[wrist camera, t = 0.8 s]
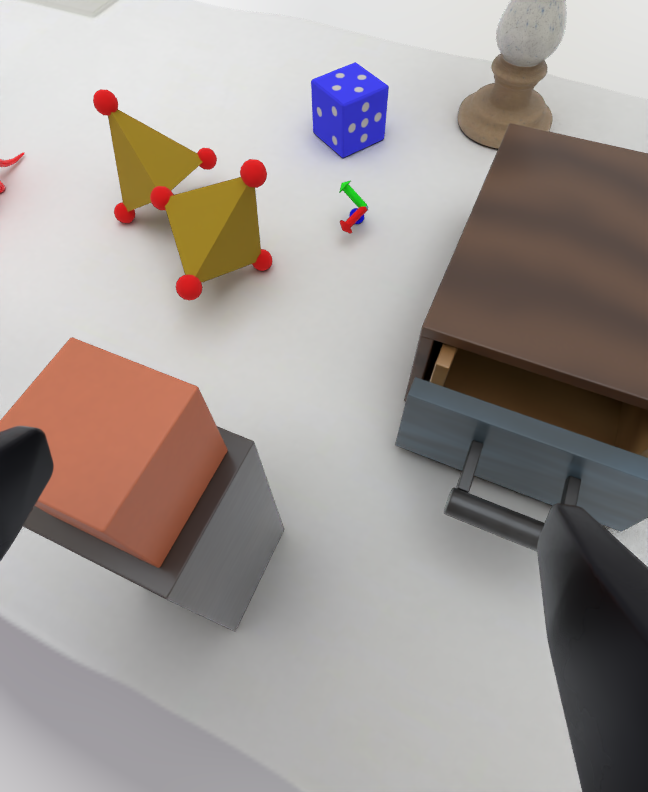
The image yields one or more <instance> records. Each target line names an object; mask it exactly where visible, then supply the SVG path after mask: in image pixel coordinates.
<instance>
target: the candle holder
mask: <svg viewBox="0 0 648 792" xmlns="http://www.w3.org/2000/svg"><path fill="white" fill-rule="evenodd" d="M565 27H566V0H511V1H510V3H509V4H508V6H507V7H506V9H505V11H504V13H503V14H502V17H501V19H500V21H499V24H498V28H497V33H496V34H497V36H496V39H497V45H498V48H499V50H500V52H501V54H500V55H498V56H497V57H496V58H495V59H494V60H493V62H492V71H493V73H494V78H495V83H492V84H488V85H486V86H484V87H482V88H480V89H479V90H478V91H477V92H475V93H473V94H471V95H469V96H468V97H467V98H465V99H464V101H463V102H462V104H461V106H460V108H459V113H458V123H459V126H460V128H461V130H462V131H463V132H464V133H465V134H466V135H467V136H468V137H469V138H471V139H472V140H474V141H476V142H478V143H480V144H482V145H485V146H488V147H492V148H497V149H499V146H500V144H501V142H502V139H503V137H504V135H505V132H506V130H507V128H508V125H509V124H510V123H512V124H517V125H521V126H526V127H530V128H535V129H539V130H544V131H548V132H549V130H550V127H551V124H552V113H551V111H550V109H549V107H548V106H547V105H546V104H545V101H544V99H543V98H542V96H541V95H540V94H539V93H538V92H536V91H535V90H533V88H534V86H535V85H536V84H537V83H538V82H539V81H540V80H541V79H543V78H544V77H545V75H546V73H547V64H546V62H545V61H544V60H545V59H546V58H548V57H549V56H550V55H551V54H552V53H553V52H554V51H555V50H556V49H557V47H558V46H559V44H560V43H561V41H562V38H563V36H564V33H565Z"/></svg>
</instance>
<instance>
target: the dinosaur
mask: <svg viewBox="0 0 648 792" xmlns="http://www.w3.org/2000/svg"><path fill="white" fill-rule="evenodd" d="M23 155H24V153H21V154H20V155H18V156H16V157H15V158H13V159H9V160H2V159H0V167H8V166H10V165H12V164H14V163H16V162H17V161H18V160H19V159H20V158H21V157H22V156H23ZM4 190H5V186H4V184H3V183H2V182H1V181H0V193H2V192H3V191H4Z"/></svg>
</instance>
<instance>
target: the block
mask: <svg viewBox="0 0 648 792" xmlns="http://www.w3.org/2000/svg"><path fill="white" fill-rule="evenodd" d="M15 426H28V427H35V428H39V429H41V430H43V432H44V433H45V435H46V438H47V441H48V445H49V448H50V452H51V456H52V459H53V463H54V469H53V473H52V476H51V478H50V480H49V482H48V484H47V485H46V487H45V489H44V490H43V492H42V494H41V496H40V497H39V499H38V501H37V502H36V504H35V506H36V507H38V508H39V509H41V510H43V511H45V512H46V513H48V514H50V515H52V516H54V517H56V518H58V519H60V520H62V521H64V522H66V523H68V524H70V525H72V526H74V527H76V528H78V529H80V530H82V531H84V532H86V533H88V534H90V535H92V536H94V537H96V538H98V539H100V540H102V541H104V542H106V543H108V544H110V545H112V546H114V547H116V548H118V549H120V550H122V551H125V552H127V553H129V554H131V555H133V556H135V557H137V558H139V559H141V560H143V561H145V562H147V563H149V564H151V565H153V566H155V567H157V568H159V567H161V565H162V563H163V561H164V560H165V558H166V556H167V554H168V553H169V551H170V549H171V548H172V546H173V544H174V542H175V541H176V539H177V537H178V535H179V534H180V532H181V530H182V529H183V527H184V525H185V523H186V522H187V520H188V518H189V517H190V515H191V513H192V511H193V510H194V508H195V506H196V504H197V503H198V501H199V499H200V498H201V496H202V494H203V492H204V491H205V489H206V487H207V485H208V484H209V482H210V480H211V479H212V477H213V475H214V473H215V472H216V470H217V468H218V466H219V465H220V463H221V461H222V460H223V458H224V456H225V454H226V453H227V450H228V449H227V447H226V445H225V443H224V441H223V439H222V437H221V435H220V432H219V430H218V428H217V426H216V424H215V422H214V420H213V418H212V416H211V413H210V411H209V409H208V407H207V405H206V403H205V401H204V399H203V397H202V394H201V392H200V390H199V388H198V387H197V386H195V385H192V384H190V383H187V382H184V381H182V380H179V379H177V378H174V377H172V376H169V375H167V374H164V373H161V372H159V371H156V370H154V369H151V368H149V367H146V366H144V365H141V364H139V363H136V362H133V361H131V360H128V359H126V358H123V357H121V356H118V355H116V354H113V353H111V352H108V351H105V350H103V349H100V348H98V347H95V346H93V345H90V344H88V343H85V342H82V341H80V340H77V339H75V338H70V339H69V340H68V341H67V343H66V344H65V345H64V346H63V347H62V348H61V350H60V351H59V352H58V353H57V354H56V355H55V357H54V358H53V359H52V360H51V361H50V363H49V364H48V365H47V366H46V367H45V368H44V370H43V371H42V372H41V373H40V374H39V376H38V377H37V378H36V379H35V380H34V381H33V383H32V384H31V385H30V386H29V387H28V389H27V390H26V391H25V392H24V393H23V394H22V396H21V397H20V398H19V399H18V400H17V401H16V403H15V404H14V405H13V406H12V407H11V409H10V410H9V411H8V412H7V413H6V414H5V416H4V417H3V418H2V419H1V420H0V432H1V431H4V430H7V429H9V428H12V427H15Z"/></svg>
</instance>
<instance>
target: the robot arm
mask: <svg viewBox="0 0 648 792" xmlns="http://www.w3.org/2000/svg"><path fill="white" fill-rule="evenodd" d="M53 469H54V463H53V459H52V456H51V452H50V448H49V445H48V441H47V438H46V435H45V433H44V432H43V430H41V429H39V428H35V427H28V426H15V427H12V428H9V429H7V430H4V431H1V432H0V561H1V560H2V558H3V557H4V555H5V554H6V552H7V551H8V549H9V548H10V546H11V545H12V543H13V541H14V540H15V538H16V537H17V535H18V533H19V532H20V530H21V528H22V526H23V525H24V523H25V521H26V520H27V518H28V516H29V514H30V513H31V511H32V509H33V508H34V506H35V504H36V502H37V501H38V499H39V497H40V496H41V494H42V492H43V490H44V489H45V487H46V485H47V484H48V482H49V480H50V478H51V476H52V473H53ZM537 551H538V561H539V570H540V579H541V588H542V597H543V606H544V614H545V623H546V631H547V638H548V644H549V648H550V653H551V658H552V662H553V667H554V671H555V675H556V680H557V684H558V688H559V693H560V697H561V701H562V706H563V710H564V714H565V719H566V723H567V727H568V732H569V736H570V740H571V745H572V749H573V753H574V758H575V762H576V766H577V771H578V775H579V779H580V784H581V788H582V792H648V567H647V566H646V565H645V564H644V563H643V562H642V561H641V560H639V559H638V558H637V557H636V556H635V555H634V554H633V553H632V552H631V551H630V550H628V549H627V548H626V547H625V546H624V545H623V544H622V543H621V542H620V541H619V540H617V539H616V538H615V537H614V536H613V535H612V534H611V533H610V532H609V531H608V530H606V529H605V528H604V527H603V526H602V525H601V524H600V523H599V522H598V521H597V520H595V519H594V518H593V517H592V516H591V515H590V514H589V513H588V512H587V511H586V510H584V509H583V508H582V507H579V506H574V505H568V504H561V503H557V504H554V505H553V506H552V507H551V509H550V511H549V514H548V516H547V519H546V521H545V524H544V526H543V529H542V531H541V534H540V536H539V540H538V546H537Z"/></svg>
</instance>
